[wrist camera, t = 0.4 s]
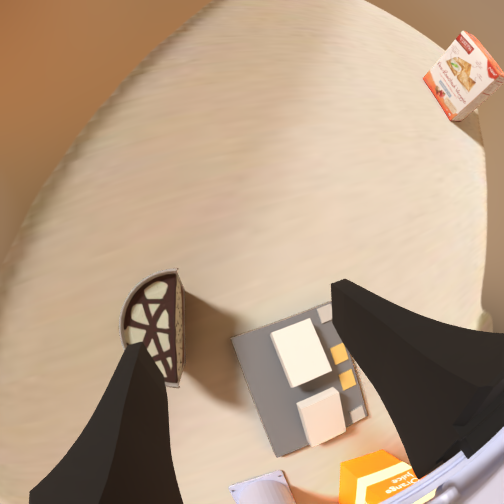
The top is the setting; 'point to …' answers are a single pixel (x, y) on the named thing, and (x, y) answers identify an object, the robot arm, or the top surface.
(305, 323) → the plate
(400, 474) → the orange juice
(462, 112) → the cracker box
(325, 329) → the switch board
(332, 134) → the top surface
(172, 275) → the food container
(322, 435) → the rocker
